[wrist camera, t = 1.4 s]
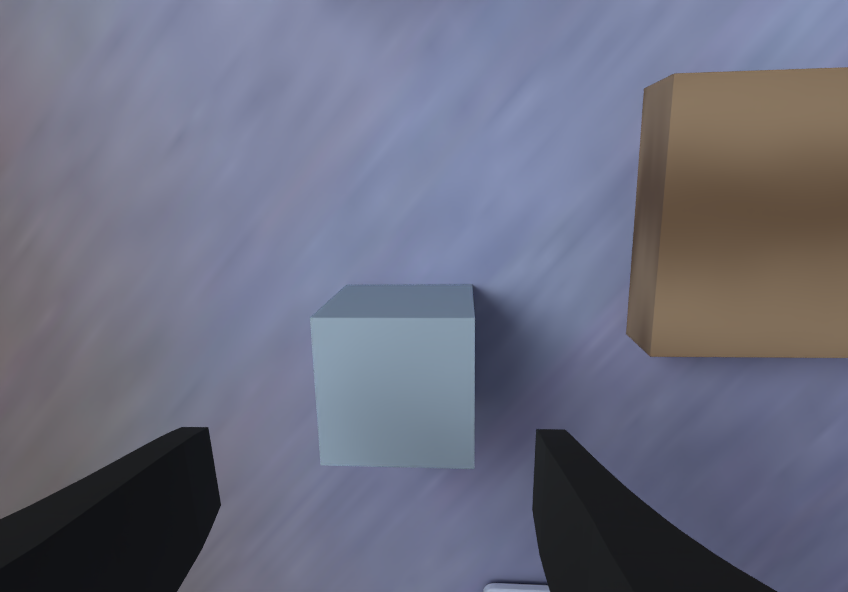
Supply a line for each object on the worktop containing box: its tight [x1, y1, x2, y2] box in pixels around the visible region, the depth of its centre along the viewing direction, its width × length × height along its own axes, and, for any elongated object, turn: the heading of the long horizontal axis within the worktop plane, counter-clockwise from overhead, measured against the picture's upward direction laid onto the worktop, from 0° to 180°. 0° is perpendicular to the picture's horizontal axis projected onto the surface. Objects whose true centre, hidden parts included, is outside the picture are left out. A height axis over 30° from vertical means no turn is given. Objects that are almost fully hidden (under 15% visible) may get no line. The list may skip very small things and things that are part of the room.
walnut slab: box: [626, 67, 848, 358], centre depth 17 cm, size 9×9×3 cm
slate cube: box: [310, 284, 475, 469], centre depth 18 cm, size 5×5×5 cm
